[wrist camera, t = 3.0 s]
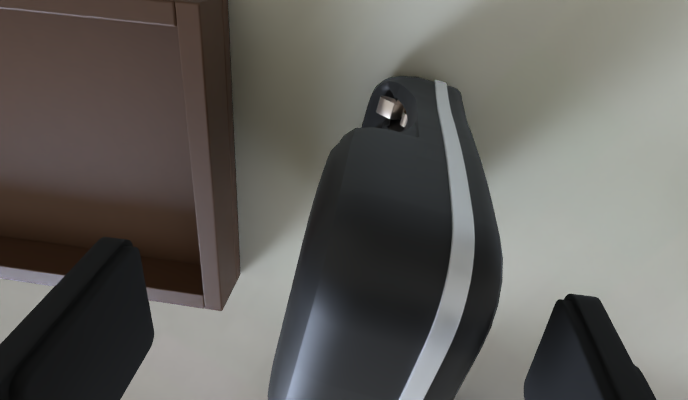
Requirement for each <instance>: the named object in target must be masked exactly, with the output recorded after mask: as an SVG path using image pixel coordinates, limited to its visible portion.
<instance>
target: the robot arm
mask: <svg viewBox="0 0 688 400" xmlns="http://www.w3.org/2000/svg"><path fill="white" fill-rule="evenodd" d="M153 338H154V329H153V323H152V318H151V312H150V306H149V301H148V295H147V290H146V284H145V278H144V273H143V267H142V262H141V256H140V251H139V249H138V248H137V247H133V244H132V242H131V241H130V240H127V239H119V238H111V237H102V238H100V239H99V240H98V241H97V242H96V243H95V244H94V245H93V246H92V247H91V248H90V250H89V251H88V252H87V253H86V254H85V255H84V256H83V257H82V258H81V259H80V260H79V261H78V262H77V263H76V264H75V265H74V267H73V268H72V269H71V270H70V271H69V272H68V273H67V274H66V275H65V276H64V277H63V278H62V279H61V280H60V281H59V282H58V284H57V285H56V286H55V287H54V288H53V289H52V290H51V291H50V292H49V293H48V294H47V295H46V296H45V297H44V298H43V299H42V301H41V302H40V303H39V304H38V305H37V306H36V307H35V308H34V309H33V310H32V311H31V312H30V313H29V314H28V315H27V316H26V318H25V319H24V320H23V321H22V322H21V323H20V324H19V325H18V326H17V327H16V328H15V329H14V330H13V331H12V332H11V334H10V335H9V336H8V337H7V338H6V339H5V340H4V341H3V342H2V343H1V344H0V400H120V399H121V397H122V396H123V394H124V392H125V390H126V389H127V387H128V385H129V384H130V382H131V380H132V378H133V377H134V375H135V373H136V372H137V370H138V368H139V366H140V365H141V363H142V361H143V360H144V358H145V356H146V354H147V353H148V351H149V349H150V347H151V345H152V342H153ZM524 398H525V400H656V398H655V396H654V394H653V392H652V390H651V388H650V387H649V385H648V383H647V381H646V379H645V377H644V375H643V374H642V372H641V371H640V369H639V368H638V367H636V366H635V365H634V364H633V362H632V360H631V359H630V357H629V355H628V353H627V351H626V349H625V347H624V345H623V343H622V341H621V339H620V337H619V335H618V333H617V332H616V330H615V328H614V326H613V324H612V322H611V320H610V318H609V316H608V314H607V312H606V310H605V308H604V306H603V305H602V303H601V301H600V300H599V298H597V297H592V296H584V295H576V294H568V295H567V296H566V297H565V299H564V300H561V299H560V300H558V301H557V302H556V303H555V306H554V308H553V311H552V313H551V316H550V318H549V321H548V324H547V326H546V329H545V331H544V334H543V336H542V339H541V341H540V344H539V346H538V349H537V351H536V354H535V356H534V359H533V362H532V364H531V367H530V369H529V372H528V374H527V377H526V379H525V383H524Z"/></svg>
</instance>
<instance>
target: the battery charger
mask: <svg viewBox="0 0 688 400" xmlns="http://www.w3.org/2000/svg"><path fill="white" fill-rule="evenodd" d="M502 268H503V257H502V249H501V242H500V236H499V231H498V226H497V222H496V217H495V213H494V209H493V204H492V200H491V196H490V192H489V188H488V184H487V180H486V177H485V173H484V170H483V166H482V163H481V160H480V157H479V154H478V151H477V148H476V145H475V142H474V139H473V136H472V133H471V131H470V128H469V126H468V123H467V119H466V116H465V111H464V107H463V102H462V97H461V93H460V92H459V91H458V90H457V89H456V88H454V87H451V86H447V83H446V82H442V81H439V80H435V81H434V82H433V81H429V80H426V79H422V78H419V77H407V76H398V77H391V78H388V79H386V80H384V81H382V82H381V83H380V84H379V85H377V86H376V88H375V89H374V91H373V93H372V96H371V98H370V101H369V104H368V107H367V110H366V114H365V117H364V121H363V124H362V128H355V129H354V130H352V131H350V132H349V133H347V134H346V135H344V136H343V138H342V139H341V140H340V142H339V143H338V144H337V145H336V146H335V147H334V148H333V149H332V150H331V151H330V154H329V156H328V159H327V162H326V165H325V167H324V170H323V173H322V176H321V179H320V182H319V185H318V188H317V191H316V195H315V198H314V201H313V205H312V209H311V212H310V216H309V220H308V223H307V227H306V231H305V235H304V239H303V243H302V247H301V251H300V256H299V260H298V264H297V268H296V272H295V276H294V280H293V284H292V289H291V293H290V296H289V300H288V304H287V308H286V312H285V317H284V321H283V325H282V329H281V333H280V337H279V341H278V345H277V349H276V353H275V357H274V361H273V366H272V371H271V377H270V383H269V390H268V400H453V399H454V397H455V396H456V394H457V392H458V390H459V388H460V386H461V385H462V383H463V381H464V379H465V377H466V375H467V374H468V372H469V370H470V368H471V366H472V365H473V363H474V361H475V359H476V357H477V355H478V354H479V352H480V350H481V348H482V346H483V344H484V341H485V339H486V337H487V335H488V333H489V331H490V329H491V326H492V323H493V319H494V316H495V313H496V310H497V307H498V303H499V297H500V291H501V285H502Z"/></svg>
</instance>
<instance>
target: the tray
mask: <svg viewBox="0 0 688 400" xmlns="http://www.w3.org/2000/svg"><path fill="white" fill-rule="evenodd" d="M102 237H111V238H119V239H127V240H130V241H131V242H132V244H133V247H137V248H138V249H139V251H140V256H141V262H142V267H143V273H144V278H145V284H146V290H147V295H148V300H150V301H157V302H163V303H170V304H177V305H183V306H190V307H197V308H206V309H211V310H218V311H222V310H223V308H224V306H225V304H226V302H227V300H228V298H229V296H230V294H231V292H232V290H233V288H234V286H235V284H236V281H237V280H238V278H239V276H240V255H239V233H238V212H237V190H236V168H235V146H234V125H233V103H232V81H231V60H230V38H229V16H228V0H0V278H2V279H8V280H15V281H22V282H28V283H35V284H42V285H49V286H56V285H57V284H58V282H59V281H60V280H61V279H62V278H63V277H64V276H65V275H66V274H67V273H68V272H69V271H70V270H71V269H72V268H73V267H74V265H75V264H76V263H77V262H78V261H79V260H80V259H81V258H82V257H83V256H84V255H85V254H86V253H87V252H88V251H89V250H90V248H91V247H92V246H93V245H94V244H95V243H96V242H97V241H98V240H99V239H100V238H102Z"/></svg>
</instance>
